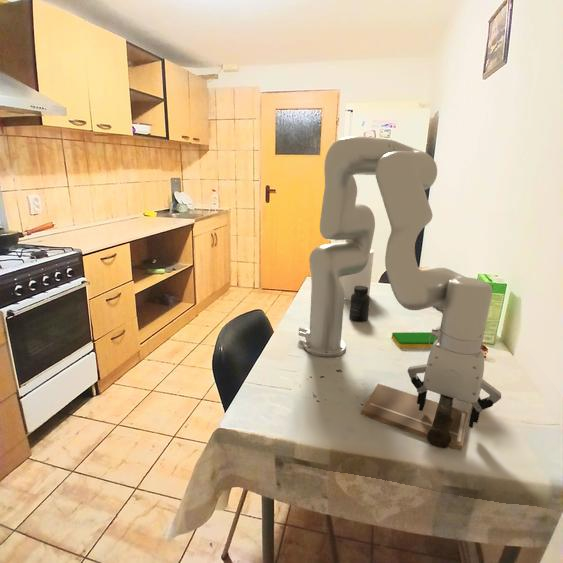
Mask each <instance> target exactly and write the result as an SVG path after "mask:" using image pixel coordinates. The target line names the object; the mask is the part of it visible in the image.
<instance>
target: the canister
mask: <svg viewBox="0 0 563 563" xmlns="http://www.w3.org/2000/svg"><path fill="white" fill-rule="evenodd" d="M374 252H375V250H374V249H372V248H371V250H370V255H369V259H368V263H367V265H366V267H365V268H364V270H363V271H361V272H359V273H356V274H351V275H345V276H341V277H339V280H340V282H341V284H342V286H343V288H344V298H345V299H344V300H348V299H349V301H350V300H351V295H352V294H353V293H354V287H355V286H366V287H368V293H367V294H368V295H369V296H370V292H371V285H372V284H371V282H372V271H373V263H374V262H373V261H374V255H375V254H374Z"/></svg>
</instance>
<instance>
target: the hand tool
mask: <svg viewBox="0 0 563 563" xmlns="http://www.w3.org/2000/svg"><path fill="white" fill-rule="evenodd" d="M438 403H439V404H438V407H437V410H436V414H435V417H434V421H433V425H432V428H431V429H430V430H429V432H428V435H427V439H426V441H427V442H428V444H429V445H430V446H433V447H435V448H439V449H445V450H446V449H448V448H449V447H448V446H449V443H451V436H450V429H451V424H452V422H453V420H452V418H451V413H452V407H453V403H454V398H451V397H448V396H444V395H441V394H439V401H438Z"/></svg>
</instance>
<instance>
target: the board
mask: <svg viewBox="0 0 563 563" xmlns="http://www.w3.org/2000/svg"><path fill="white" fill-rule="evenodd" d="M417 398H418V395H415V394H412V393H410V392H409V393H408V392H406V391H402V390H399V389H396V388H393V387H391V386H387V385H384V384H381V383H377V384H376V386H375V388H374V389H373V390H372V392H371V394H370V396H369V397H368V399H367V401H366V402H365V403H364V405H363V407H362V409H361V410H360V412H361V413H360V414H361V415H362V416H365V417H367V418H370V419H373V420H375V421H378V422H380V423H383V424H387V425H389V426H392V427H394V428H397V429H399V430H402V431H406V432H407V433H410V434H413V435H416V436H418V437H421V438H424V439H425V440H427V435H428V432H429V430H430V429H431V428H432V425H433V421H434V417H435V414H436V410H437V407H438V404H439V401H438V402H437V401H434V400H432V399H431V400H430V399H428V398H426V401H425V405H424V408H423V411H420V410H419V406H420V404H417ZM468 416H469V412H468V411H465V410H462V409H460V408H456V407H453V406H452V413H451V418H452V420H453V422H452V424H451V429H450V436H451V443H449V446H448V448H451V449H453V450H456V451H459V452H462V450H463V445H464V441H465V440H464V439H465V434H466V427H467V422H468Z"/></svg>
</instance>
